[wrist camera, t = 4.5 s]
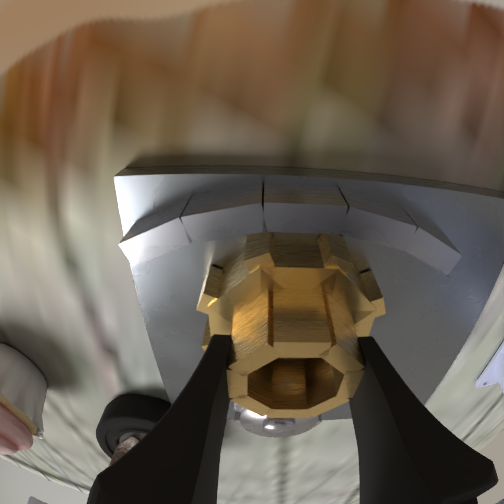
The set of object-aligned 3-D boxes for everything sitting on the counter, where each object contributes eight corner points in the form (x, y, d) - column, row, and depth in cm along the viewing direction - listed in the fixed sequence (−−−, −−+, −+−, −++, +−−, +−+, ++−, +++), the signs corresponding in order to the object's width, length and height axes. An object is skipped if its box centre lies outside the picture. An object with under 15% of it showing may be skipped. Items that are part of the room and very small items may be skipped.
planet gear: (387, 231, 12) (431, 305, 8) (352, 355, 16) (366, 428, 12) (199, 224, 12) (169, 300, 8) (211, 352, 16) (199, 427, 12)
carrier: (513, 194, 12) (557, 229, 8) (417, 399, 20) (428, 438, 17) (123, 168, 12) (81, 203, 9) (176, 402, 21) (167, 444, 18)
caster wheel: (154, 360, 22) (237, 431, 25) (77, 408, 24) (152, 465, 27) (132, 423, 16) (237, 492, 19) (52, 458, 18) (141, 516, 20)
